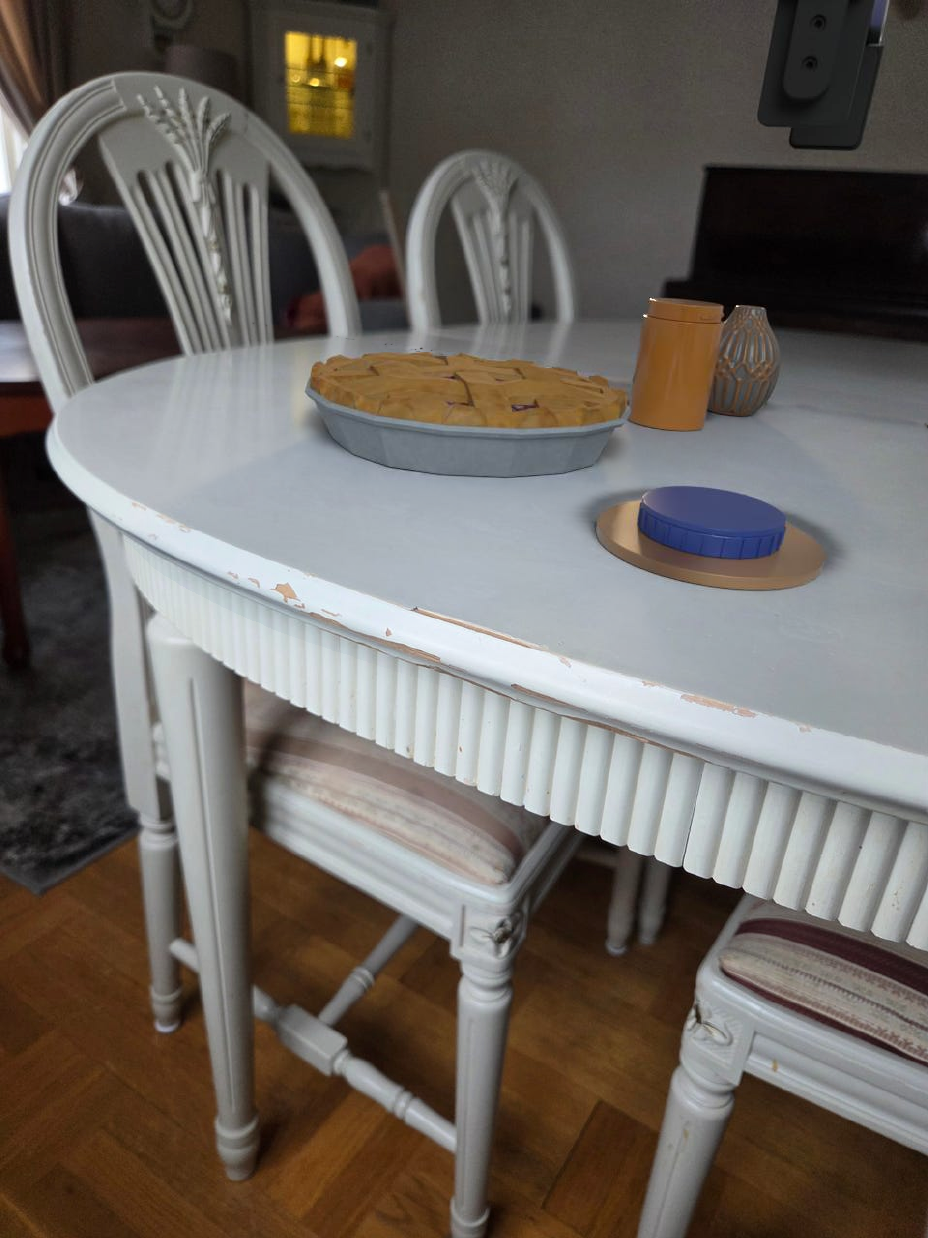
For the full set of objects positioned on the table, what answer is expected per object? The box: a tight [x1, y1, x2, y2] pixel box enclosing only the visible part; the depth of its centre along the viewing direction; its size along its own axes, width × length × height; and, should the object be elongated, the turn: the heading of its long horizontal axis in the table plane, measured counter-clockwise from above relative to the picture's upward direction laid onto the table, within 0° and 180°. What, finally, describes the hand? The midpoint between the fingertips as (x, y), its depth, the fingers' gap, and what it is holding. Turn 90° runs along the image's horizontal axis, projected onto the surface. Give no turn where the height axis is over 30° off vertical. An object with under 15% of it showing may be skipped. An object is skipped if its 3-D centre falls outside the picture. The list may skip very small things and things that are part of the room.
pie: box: [304, 351, 631, 478], centre depth 56 cm, size 22×22×5 cm
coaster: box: [595, 499, 826, 591], centre depth 41 cm, size 11×11×1 cm
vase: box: [707, 304, 781, 417], centre depth 72 cm, size 7×7×9 cm
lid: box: [637, 485, 787, 559], centre depth 41 cm, size 7×7×1 cm
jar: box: [627, 297, 725, 432], centre depth 66 cm, size 6×6×9 cm
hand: (812, 138), depth 35 cm, fingers open, 9 cm apart
